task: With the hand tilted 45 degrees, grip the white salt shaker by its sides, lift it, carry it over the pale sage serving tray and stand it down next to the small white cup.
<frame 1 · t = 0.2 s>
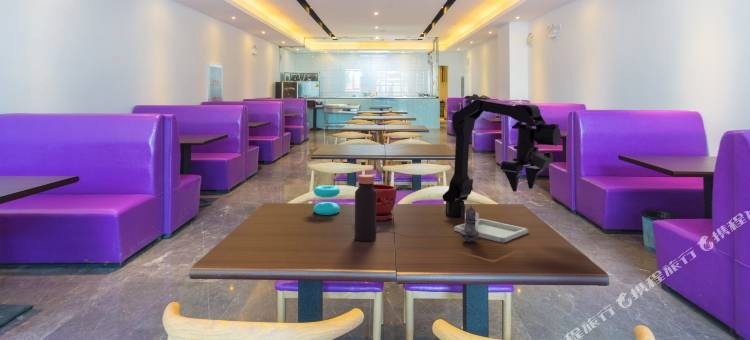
hand: (522, 190, 151), 14 cm above the table, tool pointing down, fingers open, 9 cm apart
tray: (490, 233, 151), on the table
bottle: (365, 239, 143), on the table
plant pot: (378, 218, 169), on the table
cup: (471, 230, 151), point 1 cm above the table, touching tray
donuts: (326, 213, 176), on the table
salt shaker: (469, 244, 139), on the table
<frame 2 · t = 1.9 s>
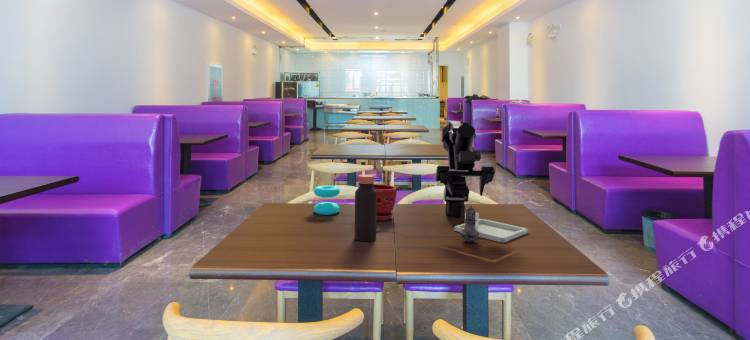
hand: (467, 195, 146), 13 cm above the table, tool tilted 45°, fingers open, 9 cm apart
nothing on the table moved.
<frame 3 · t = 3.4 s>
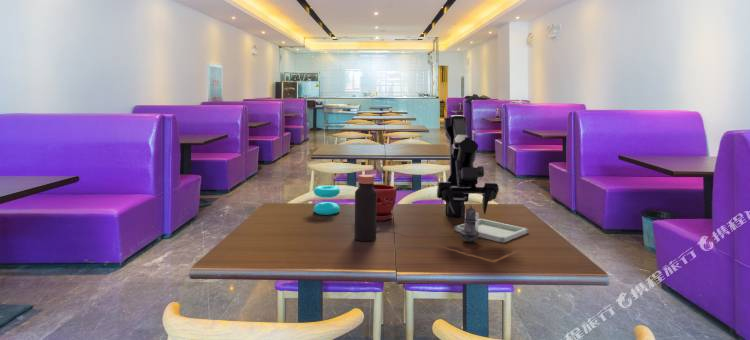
hand: (469, 213, 140), 9 cm above the table, tool tilted 45°, fingers open, 9 cm apart
nothing on the table moved.
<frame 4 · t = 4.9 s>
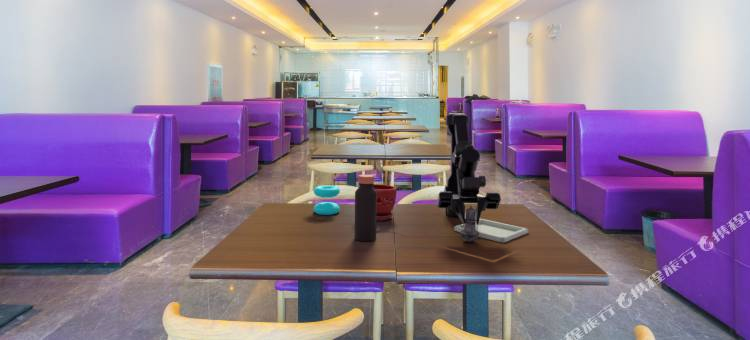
hand: (471, 223, 137), 7 cm above the table, tool tilted 45°, fingers closed on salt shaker, 4 cm apart
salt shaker: (469, 244, 139), on the table, touching gripper
everything else where it was.
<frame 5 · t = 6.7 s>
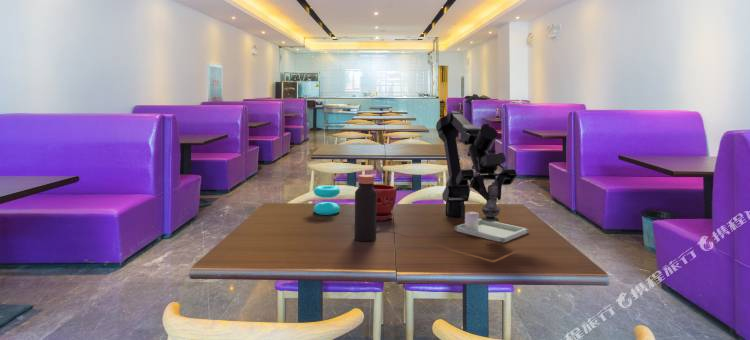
hand: (493, 199, 140), 13 cm above the table, tool tilted 45°, fingers closed on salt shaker, 4 cm apart
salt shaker: (490, 220, 143), point 6 cm above the table, touching gripper
everything else where it was.
when the fingers open (8 cm above the table, at t = 8.5 s): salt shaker stays where it is, resting on tray.
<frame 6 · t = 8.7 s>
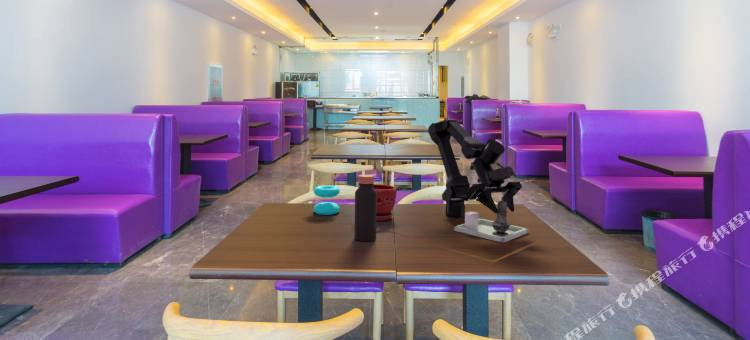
hand: (505, 212, 145), 8 cm above the table, tool tilted 45°, fingers open, 6 cm apart
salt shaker: (500, 234, 148), resting on tray
everything else where it was.
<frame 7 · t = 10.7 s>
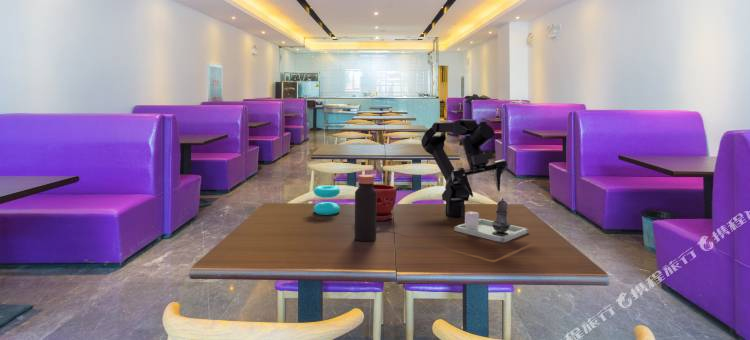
hand: (485, 193, 154), 12 cm above the table, tool tilted 30°, fingers open, 9 cm apart
nothing on the table moved.
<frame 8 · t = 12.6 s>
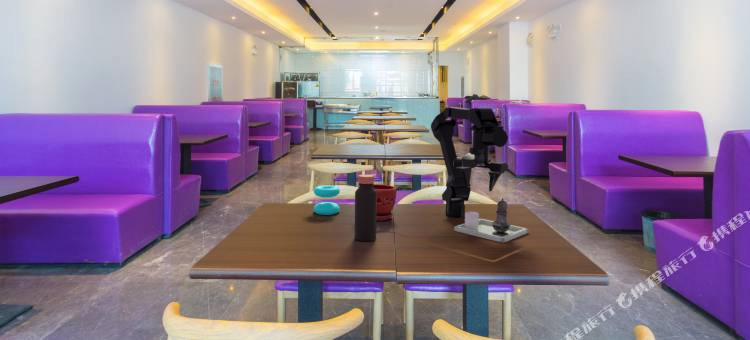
hand: (478, 189, 158), 13 cm above the table, tool pointing down, fingers open, 9 cm apart
nothing on the table moved.
at the end: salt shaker inside the target area (3.8 cm from its centre), resting on tray; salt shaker tilted 0°; the gripper is holding nothing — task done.
